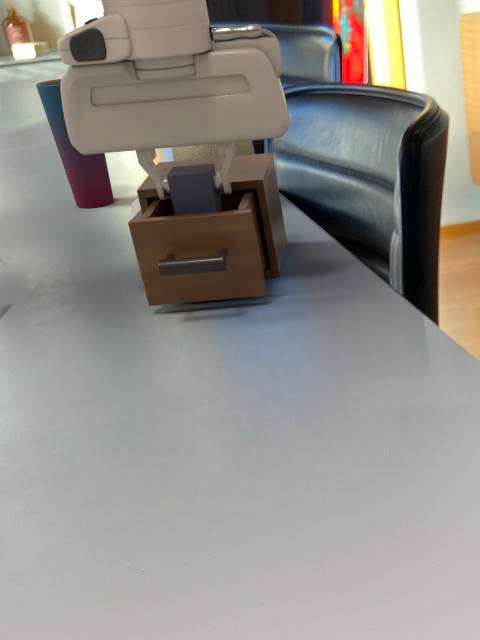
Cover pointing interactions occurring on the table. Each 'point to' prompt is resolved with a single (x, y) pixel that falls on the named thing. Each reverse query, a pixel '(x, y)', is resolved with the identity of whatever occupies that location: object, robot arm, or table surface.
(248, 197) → the drawer
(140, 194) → the cabinet
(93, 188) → the cup
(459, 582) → the table surface
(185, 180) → the block
